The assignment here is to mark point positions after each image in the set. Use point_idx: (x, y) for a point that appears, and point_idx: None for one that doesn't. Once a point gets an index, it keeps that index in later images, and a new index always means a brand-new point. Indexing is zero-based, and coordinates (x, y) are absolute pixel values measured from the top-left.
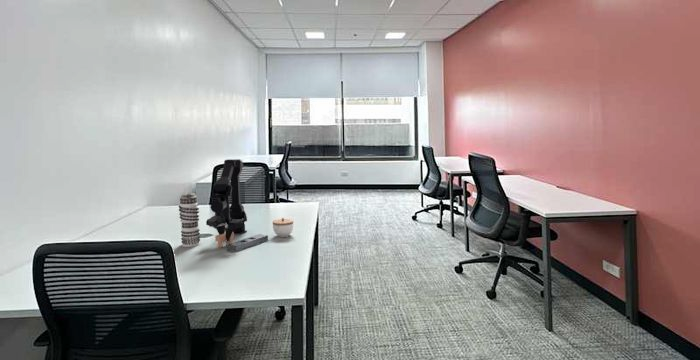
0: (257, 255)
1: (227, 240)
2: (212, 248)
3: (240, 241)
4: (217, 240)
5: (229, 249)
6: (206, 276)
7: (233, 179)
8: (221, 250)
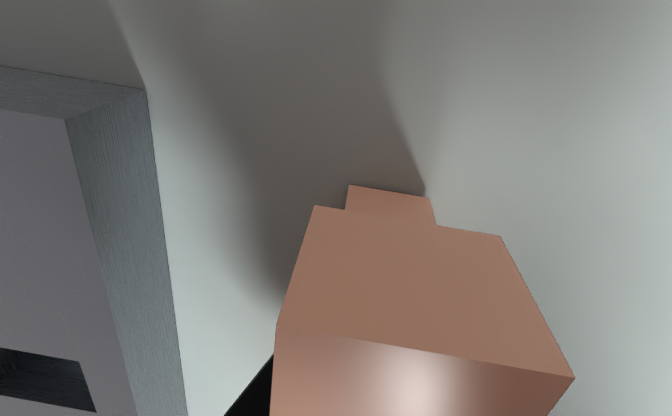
0: None
1: None
2: (503, 85)
3: (91, 375)
4: (422, 238)
5: (52, 80)
6: None
7: None
8: (209, 18)
